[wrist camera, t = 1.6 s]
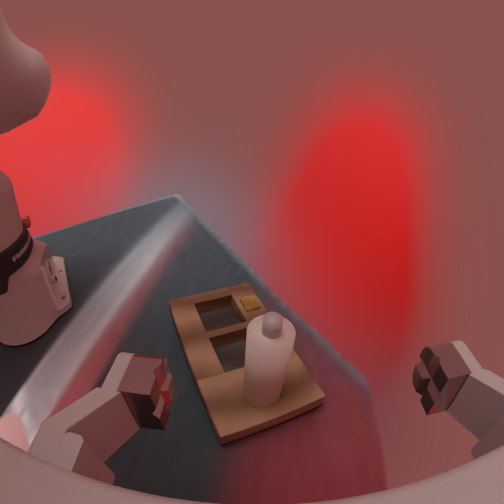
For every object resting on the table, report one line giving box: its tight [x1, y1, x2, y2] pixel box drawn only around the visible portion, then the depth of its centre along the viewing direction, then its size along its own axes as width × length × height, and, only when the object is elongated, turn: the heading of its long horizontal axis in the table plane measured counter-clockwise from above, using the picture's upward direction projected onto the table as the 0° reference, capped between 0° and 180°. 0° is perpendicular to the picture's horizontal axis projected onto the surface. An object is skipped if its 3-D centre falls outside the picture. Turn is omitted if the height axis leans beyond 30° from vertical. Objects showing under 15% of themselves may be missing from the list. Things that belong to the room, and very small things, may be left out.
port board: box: [169, 283, 325, 445], centre depth 35 cm, size 21×12×3 cm, turn 24°
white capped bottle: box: [243, 312, 296, 407], centre depth 26 cm, size 4×4×12 cm
